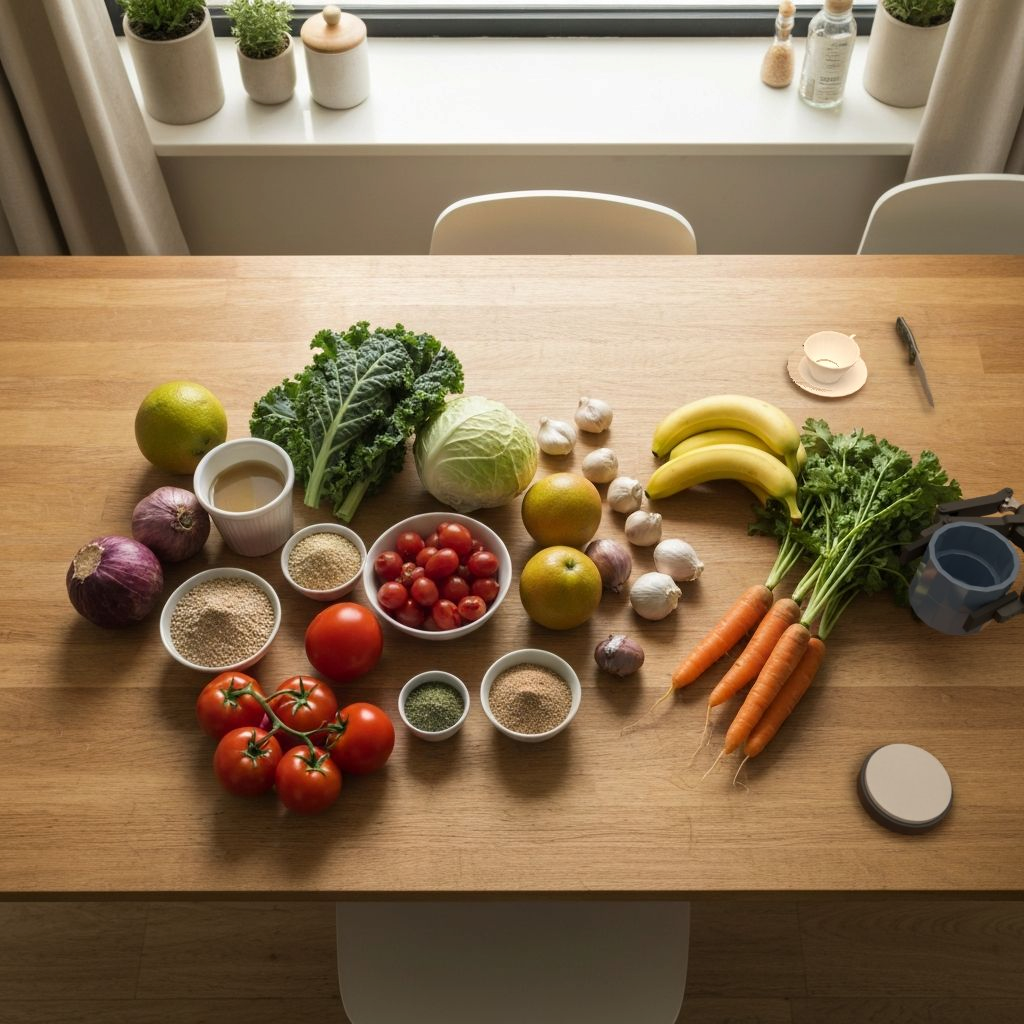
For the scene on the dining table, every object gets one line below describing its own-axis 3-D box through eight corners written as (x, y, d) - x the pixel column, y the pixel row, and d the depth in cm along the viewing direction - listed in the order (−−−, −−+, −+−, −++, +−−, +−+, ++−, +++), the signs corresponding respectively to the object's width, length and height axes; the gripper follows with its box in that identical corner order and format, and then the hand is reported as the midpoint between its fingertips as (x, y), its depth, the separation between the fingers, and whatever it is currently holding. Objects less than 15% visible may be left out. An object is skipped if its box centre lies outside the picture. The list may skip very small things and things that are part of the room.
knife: (935, 417, 158) (941, 403, 156) (926, 417, 158) (932, 403, 156) (901, 324, 171) (906, 309, 168) (893, 324, 171) (897, 310, 168)
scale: (959, 779, 123) (967, 767, 120) (930, 852, 118) (938, 841, 115) (875, 737, 126) (881, 725, 124) (843, 806, 121) (848, 795, 119)
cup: (1002, 592, 128) (1030, 543, 120) (977, 651, 123) (1004, 604, 115) (923, 558, 131) (945, 509, 124) (895, 615, 126) (917, 567, 119)
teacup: (878, 368, 165) (887, 342, 161) (843, 414, 159) (851, 389, 155) (807, 337, 169) (814, 312, 165) (770, 381, 164) (776, 355, 159)
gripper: (1144, 601, 124) (996, 682, 117) (1002, 472, 136) (862, 540, 130) (1173, 562, 118) (1019, 646, 112) (1022, 432, 131) (877, 500, 124)
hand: (935, 589), depth 121 cm, fingers closed on cup, 10 cm apart
